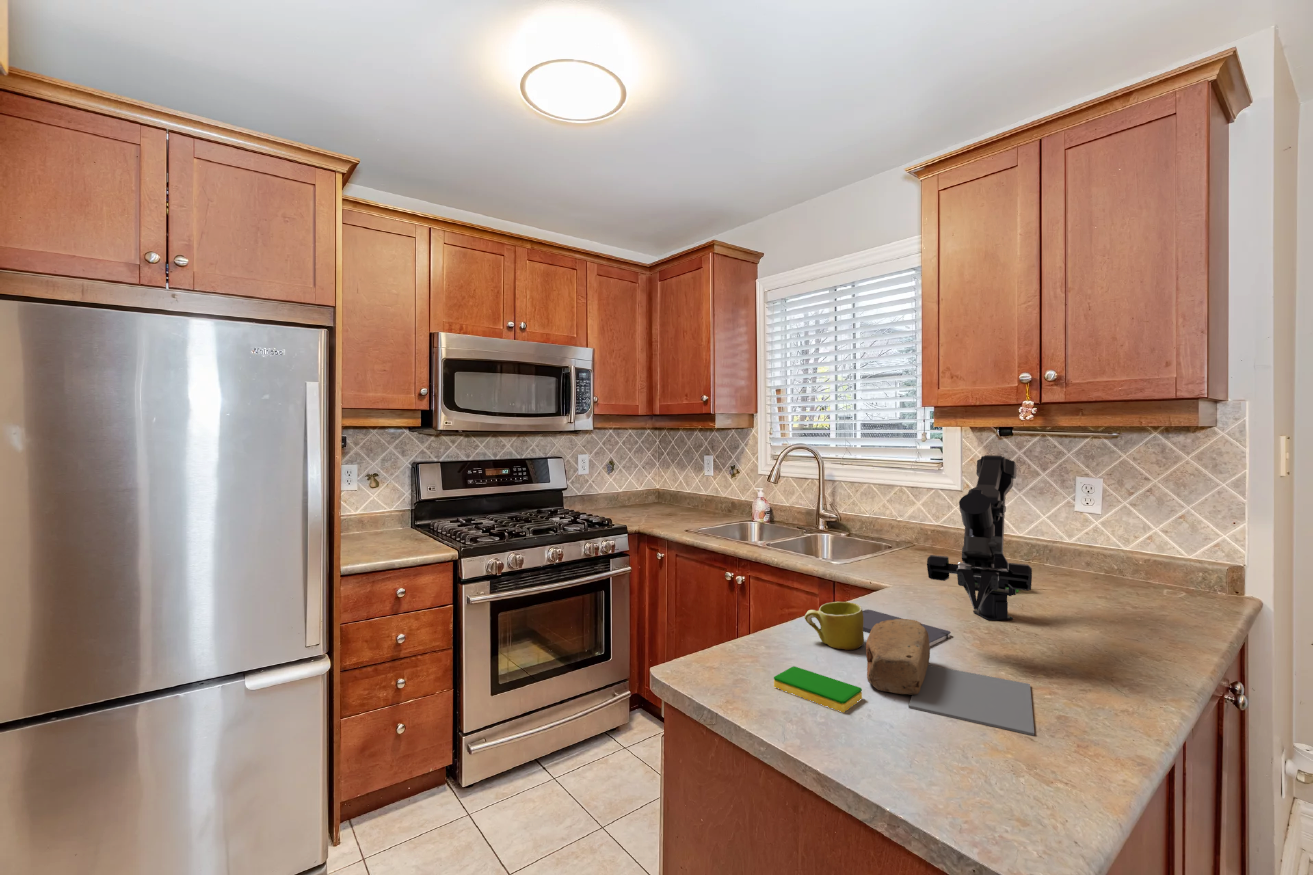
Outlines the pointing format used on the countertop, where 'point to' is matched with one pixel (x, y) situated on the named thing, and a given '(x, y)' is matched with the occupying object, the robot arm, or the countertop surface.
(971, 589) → the robot arm
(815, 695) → the dish sponge
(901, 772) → the countertop surface
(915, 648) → the brown rough stone
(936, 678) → the mat
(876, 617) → the notebook
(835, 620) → the mug
